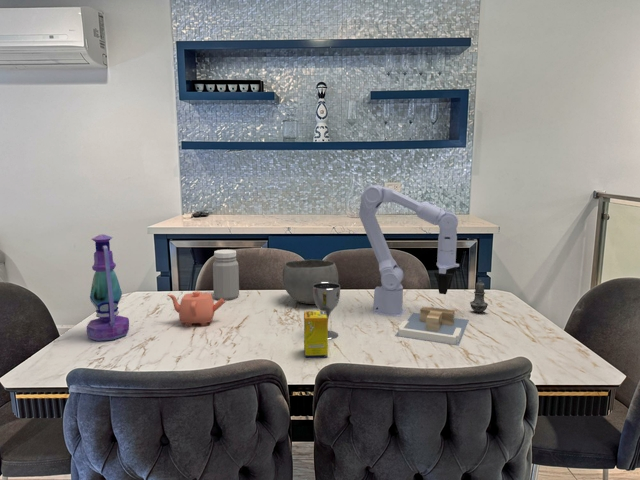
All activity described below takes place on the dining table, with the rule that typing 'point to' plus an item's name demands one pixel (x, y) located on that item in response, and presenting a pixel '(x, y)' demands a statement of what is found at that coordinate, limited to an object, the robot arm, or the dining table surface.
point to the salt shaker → (479, 298)
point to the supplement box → (315, 334)
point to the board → (444, 329)
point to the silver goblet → (327, 299)
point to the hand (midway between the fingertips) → (444, 291)
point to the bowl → (307, 277)
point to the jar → (225, 275)
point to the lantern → (105, 295)
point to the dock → (428, 334)
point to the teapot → (196, 308)
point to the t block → (436, 317)
